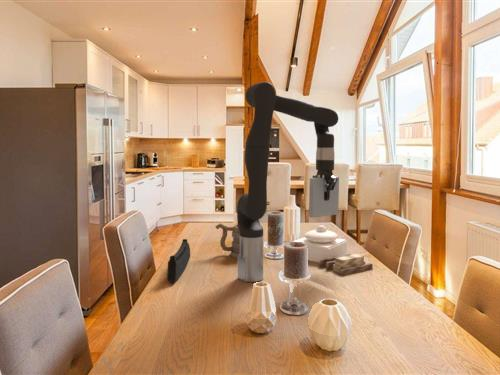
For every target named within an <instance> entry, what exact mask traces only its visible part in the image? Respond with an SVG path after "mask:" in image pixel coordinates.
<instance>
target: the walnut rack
mask: <svg viewBox="0 0 500 375" xmlns="http://www.w3.org/2000/svg"><path fill="white" fill-rule="evenodd" d="M348 255H352V254H351V253H349V254H348V253H347V255H342V256H337V257H332V258H326V259H321V260H320V262H319V265H318V266H317V268H320V269H322V270H325V271H327V272H330V273H333V274H334V275H338V276H342V277H343V276H345V275H350V274H355V273H359V272H363V271H364V272H365V271H368V270H372V269H374V268H373V263H372V262H370V263H365V265H360V266H355V267H351V268H346V269H341V270H340V273H338V272H336V271H333V264H335V258H338V257H343V256H348Z"/></svg>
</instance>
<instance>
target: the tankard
mask: <svg viewBox="0 0 500 375" xmlns="http://www.w3.org/2000/svg"><path fill="white" fill-rule="evenodd" d="M215 229H216V230H218V229H221V230H222V235H221V239H220V240H219V242H220V247H221V249H222V250H223V251H225V252H230V257H233V258H236V259H238V254H240V232H239V228H238V223H237V224H234V225H233V226H227V225H224V224H223V223H218V224H217V225H215ZM228 231H229V232H231V237H232V242H231V246H227V245H226V239H227V236H228Z"/></svg>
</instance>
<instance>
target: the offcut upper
mask: <svg viewBox="0 0 500 375" xmlns="http://www.w3.org/2000/svg"><path fill="white" fill-rule="evenodd" d="M364 261H365V257H364V255H362V254H359V253H354V254H351V255H348V256H343V257H338V258H335V264H336V265H339V266H347V265H352V264H357V263H361V262H364Z"/></svg>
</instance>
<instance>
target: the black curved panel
mask: <svg viewBox="0 0 500 375" xmlns="http://www.w3.org/2000/svg"><path fill="white" fill-rule="evenodd" d="M190 247H191V246H190V243H189V242H188V239H187V238H183V239H182V241H181V244H180V246H179V248H178V250H177V251H176V252H175V253H174V254H173V255H170V256H169V260H168V261H167V279H166V280H167V282H169V283H174V282H177V280H178V279H179V278H180V277H181V276H182V275H183V274H184V272H185V270H186V268H187V266H188V264H189V261H190V259H191V248H190Z"/></svg>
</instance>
